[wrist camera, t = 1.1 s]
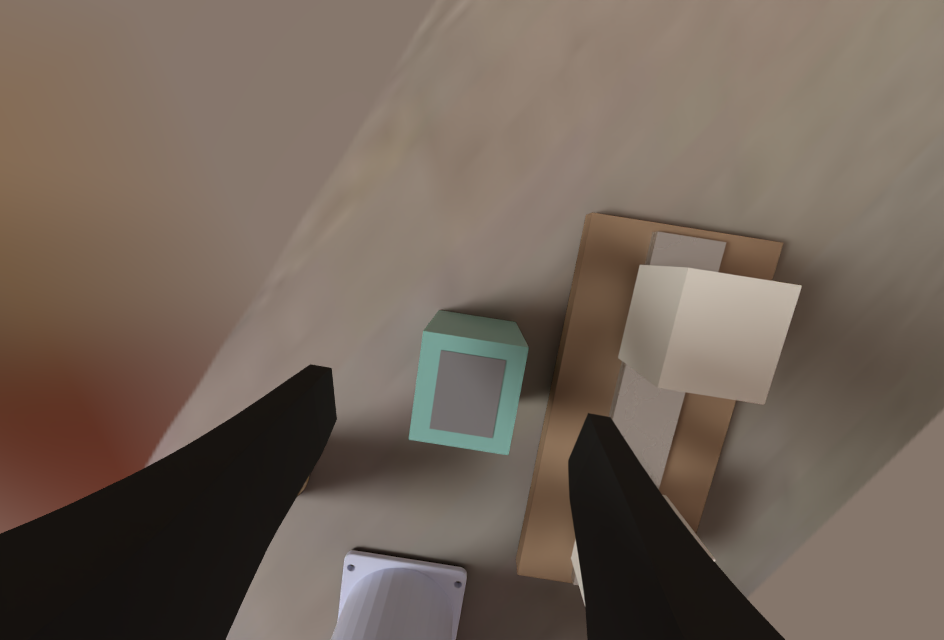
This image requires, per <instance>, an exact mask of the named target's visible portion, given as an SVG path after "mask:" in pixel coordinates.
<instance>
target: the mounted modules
mask: <svg viewBox="0 0 944 640" xmlns="http://www.w3.org/2000/svg"><path fill="white" fill-rule="evenodd" d="M801 287H802V286H801V285H795V284H788V283H782V282H776V281H770V280H763V279H757V278H751V277H744V276H738V275H732V274H725V273H719V272H713V271H707V270H700V269H694V268H686V267H670V266H653V265H640V266H639V270H638V275H637V279H636V283H635V287H634V292H633V296H632V300H631V304H630V309H629V313H628V317H627V321H626V326H625V330H624V334H623V338H622V343H621V347H620V351H619V355H618V358H619V359H620V360H621V361H623V362H624V363H625V364H627V365H628V366H629V367H631V368H632V369H633V370H635V371H636V372H637V373H639V374H640V375H641V376H642V377H644V378H645V379H646V380H648V381H649V382H650V383H652V384H653V385H654V386H656V387H657V388H662V389H668V390H674V391H681V392H687V393H693V394H700V395H706V396H712V397H719V398H725V399H731V400H738V401H744V402H750V403H757V404H763V405H765V401H766V398H767V395H768V392H769V389H770V386H771V382H772V379H773V376H774V373H775V370H776V367H777V363H778V360H779V357H780V354H781V351H782V347H783V344H784V341H785V338H786V335H787V332H788V328H789V325H790V322H791V319H792V316H793V313H794V309H795V306H796V303H797V300H798V297H799V294H800V290H801ZM663 496H664V498H665V499H666V501H667V502H668V503H669V505H670V506H671V508H672V509H673V510H674V512H675V513H676V514H677V516H678V517H679V518H680V519H681V521H682V522H683V523H684V525H685V526H686V527H687V529H688V530H689V531H690V533H691V534H692V535H693V536H694V538H695V539H696V540H697V541H698V543H699V544H700V545H701V546H702V548H703V549H704V550H705V551H706V552H707V554H708V555H709V556H710V557H711V558H712V560H713V561H714V562H715V558H714V557H713V556H712V554H711V553H710V552H709V550H708V549H707V548H706V547H705V545H704V544H703V543H702V541H701V540H700V539H699V537H698V536H697V535H696V534H695V532H694V531H693V530H692V528H691V527H690V526H689V524H688V523H687V522H686V521H685V519H684V518H683V517H682V515H681V514H680V513H679V511H678V510H677V509H676V507H675V506H674V505H673V504H672V502H671V501H670V500H669V498H668V497H667V496H666V495H663ZM571 560H572V564H573V567H574V571H575V574H576V577H577V581H578V584H579V588H580V591H581V594H582V598H583V601H584V605H585V600H584V591H583V584H582V577H581V571H580V564H579V558H578V552H577V545H576V539H575V543H574V547H573V552H572V556H571Z"/></svg>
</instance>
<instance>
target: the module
mask: <svg viewBox="0 0 944 640" xmlns="http://www.w3.org/2000/svg"><path fill="white" fill-rule="evenodd" d="M528 349H529V347H528V345H527V343H526V341H525V339H524V337H523V335H522V333H521V331H520V329H519V327H518V325H517V324H516V322H512V321H506V320H499V319H493V318H487V317H480V316H474V315H468V314H461V313H455V312H449V311H443V310H439V311H438V312H437V314H436V315H435V316H434V318H433V319H432V320H431V321H430V323H429V324H428V325H427V327H426V328H425V329H424V331H423V337H422V344H421V352H420V359H419V366H418V374H417V381H416V389H415V396H414V403H413V411H412V418H411V426H410V433H409V440H415V441H421V442H427V443H434V444H440V445H446V446H453V447H459V448H466V449H472V450H478V451H485V452H491V453H497V454H504V455H509V450H510V444H511V439H512V434H513V428H514V423H515V418H516V413H517V407H518V402H519V397H520V391H521V386H522V381H523V376H524V370H525V365H526V360H527V354H528Z"/></svg>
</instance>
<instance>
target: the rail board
mask: <svg viewBox="0 0 944 640" xmlns="http://www.w3.org/2000/svg"><path fill="white" fill-rule="evenodd" d="M652 232H664V233H670V234H677V235H683V236H689V237H696V238H702V239H708V240H715V241H721V242H726V246H725V249H724V253H723V257H722V260H721V264H720V268H719V271H718V272H719V273H725V274H732V275H738V276H744V277H751V278H757V279H763V280H770V281H772V279H773V276H774V273H775V269H776V266H777V263H778V259H779V256H780V253H781V249H782V246H783V243H781V242H775V241H769V240H762V239H756V238H750V237H743V236H737V235H731V234H725V233H718V232H712V231H706V230H699V229H693V228H687V227H680V226H674V225H668V224H662V223H655V222H649V221H643V220H636V219H630V218H624V217H618V216H611V215H605V214H599V213H590V214H587V215H586V218H585V223H584V228H583V232H582V237H581V242H580V247H579V252H578V257H577V262H576V267H575V272H574V277H573V282H572V286H571V291H570V296H569V301H568V306H567V311H566V316H565V321H564V326H563V331H562V335H561V340H560V345H559V350H558V355H557V360H556V365H555V370H554V375H553V380H552V384H551V389H550V394H549V399H548V404H547V409H546V414H545V419H544V424H543V429H542V433H541V438H540V443H539V448H538V453H537V458H536V463H535V468H534V473H533V478H532V482H531V487H530V492H529V497H528V502H527V507H526V512H525V517H524V522H523V527H522V531H521V536H520V541H519V546H518V551H517V556H516V565H517V573H518V575H522V576H529V577H535V578H542V579H548V580H554V581H561V582H567V583H573V582H572V578H571V573H572V569H573V564H572V560H571V556H572V552H573V547H574V543H575V532H574V526H573V519H572V512H571V505H570V498H569V477H568V460H569V457H570V455H571V452H572V450H573V448H574V445H575V443H576V441H577V438H578V436H579V433H580V431H581V429H582V426H583V424H584V421H585V419H586V417H587V414H588V413H591V414H596V415H602V416H608V417H609V413H610V409H611V405H612V400H613V396H614V392H615V388H616V383H617V379H618V375H619V371H620V367H621V362H622V361H621V360H620V359H619V358H618V355H619V351H620V347H621V343H622V338H623V334H624V330H625V326H626V321H627V317H628V313H629V309H630V304H631V300H632V296H633V292H634V287H635V283H636V279H637V275H638V270H639V266H640V265H645V261H646V257H647V253H648V248H649V244H650V240H651V236H652ZM735 403H736V400H731V399H725V398H719V397H712V396H706V395H700V394H693V393H687V392H685V396H684V399H683V403H682V407H681V410H680V414H679V418H678V421H677V425H676V429H675V432H674V436H673V440H672V443H671V447H670V451H669V454H668V458H667V462H666V465H665V469H664V473H663V476H662V480H661V484H660V487H659V491H660V492H661V494H662V495H666V496H667V497H668V498H669V500H670V501H671V502H672V504H673V505H674V506H675V507H676V509H677V510H678V511H679V513H680V514H681V515H682V517H683V518H684V519H685V521H686V522H687V523H688V524H689V526H690V527H691V528H692V530H693V531H694V532H695V534H696V532H697V529H698V526H699V522H700V519H701V516H702V512H703V509H704V506H705V503H706V499H707V496H708V493H709V489H710V486H711V483H712V479H713V476H714V473H715V469H716V466H717V463H718V459H719V456H720V453H721V449H722V446H723V443H724V439H725V436H726V433H727V429H728V426H729V423H730V419H731V416H732V413H733V409H734V406H735Z"/></svg>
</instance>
